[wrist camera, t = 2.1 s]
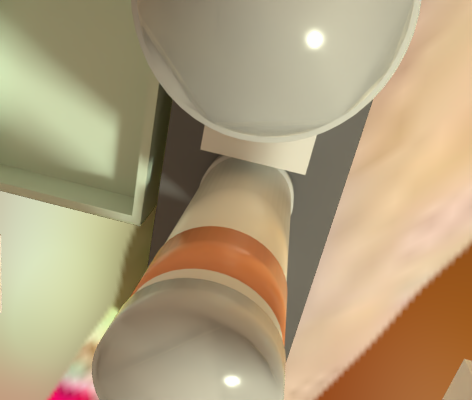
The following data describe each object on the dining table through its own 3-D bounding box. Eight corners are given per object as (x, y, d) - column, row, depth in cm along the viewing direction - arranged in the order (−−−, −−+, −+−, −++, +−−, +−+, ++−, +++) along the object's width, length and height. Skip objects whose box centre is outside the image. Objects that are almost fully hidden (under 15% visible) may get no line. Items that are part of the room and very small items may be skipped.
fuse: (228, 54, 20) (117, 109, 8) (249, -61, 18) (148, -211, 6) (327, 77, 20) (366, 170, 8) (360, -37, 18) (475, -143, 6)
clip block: (148, 330, 30) (111, 406, 24) (220, -115, 20) (185, -171, 14) (276, 364, 30) (269, 449, 24) (416, -73, 20) (465, -113, 14)
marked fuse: (196, 220, 23) (85, 430, 11) (212, 137, 22) (100, 284, 10) (281, 241, 23) (258, 479, 11) (304, 159, 21) (307, 339, 9)
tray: (-8, 163, 27) (-43, 179, 24) (-12, -80, 22) (-57, -93, 19) (156, 204, 27) (139, 226, 24) (191, -34, 22) (175, -41, 19)
